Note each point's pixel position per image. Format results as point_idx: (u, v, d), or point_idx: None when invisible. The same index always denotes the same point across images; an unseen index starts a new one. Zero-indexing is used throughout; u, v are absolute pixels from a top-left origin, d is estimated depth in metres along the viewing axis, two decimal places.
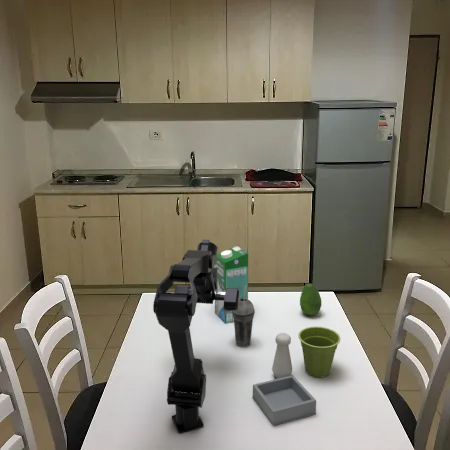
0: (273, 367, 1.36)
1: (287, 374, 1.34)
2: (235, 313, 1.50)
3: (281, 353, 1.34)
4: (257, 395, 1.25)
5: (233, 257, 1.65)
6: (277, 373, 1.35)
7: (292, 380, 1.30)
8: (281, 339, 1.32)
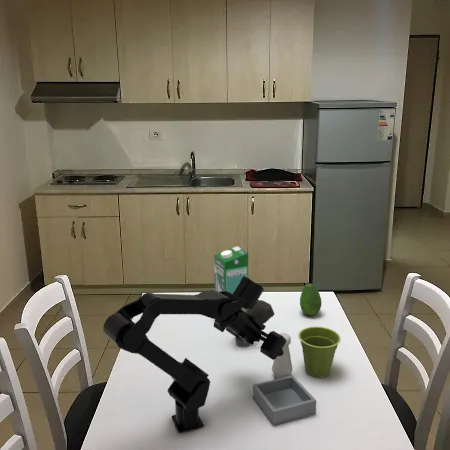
0: (273, 367, 1.36)
1: (287, 374, 1.34)
2: None
3: None
4: (257, 395, 1.25)
5: (233, 257, 1.65)
6: (277, 373, 1.35)
7: (292, 380, 1.30)
8: None
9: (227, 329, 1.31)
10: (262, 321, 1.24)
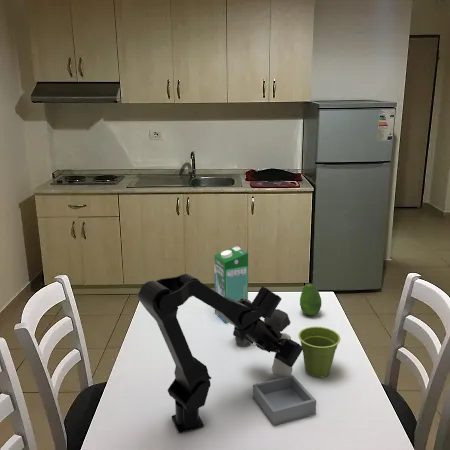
0: (273, 367, 1.36)
1: (287, 374, 1.34)
2: None
3: None
4: (257, 395, 1.25)
5: (233, 257, 1.65)
6: (277, 373, 1.35)
7: (292, 380, 1.30)
8: None
9: (244, 337, 1.36)
10: (279, 329, 1.28)
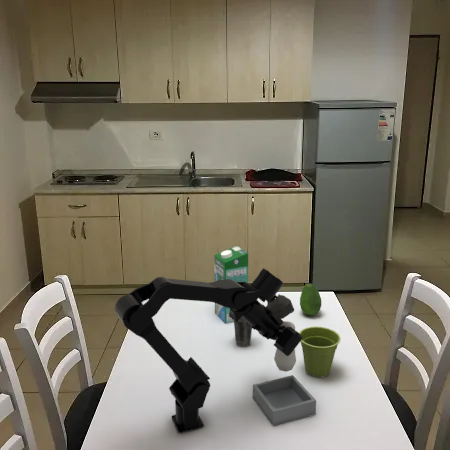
0: (275, 356, 1.29)
1: (289, 365, 1.27)
2: None
3: None
4: (257, 395, 1.25)
5: (233, 257, 1.65)
6: (278, 363, 1.27)
7: (292, 380, 1.30)
8: None
9: (247, 322, 1.30)
10: (280, 316, 1.21)
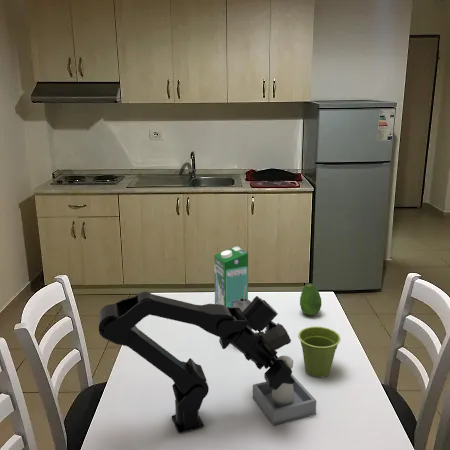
0: (272, 391, 1.24)
1: (284, 402, 1.21)
2: None
3: None
4: (257, 395, 1.25)
5: (233, 257, 1.65)
6: (274, 398, 1.22)
7: None
8: None
9: None
10: (273, 347, 1.16)
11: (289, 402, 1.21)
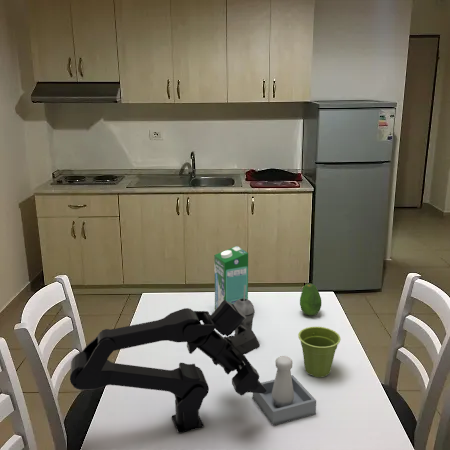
0: (272, 391, 1.24)
1: (284, 402, 1.21)
2: None
3: (279, 377, 1.21)
4: (257, 395, 1.25)
5: (233, 257, 1.65)
6: (274, 398, 1.22)
7: (292, 380, 1.30)
8: (279, 362, 1.20)
9: None
10: (241, 351, 1.14)
11: (289, 402, 1.21)
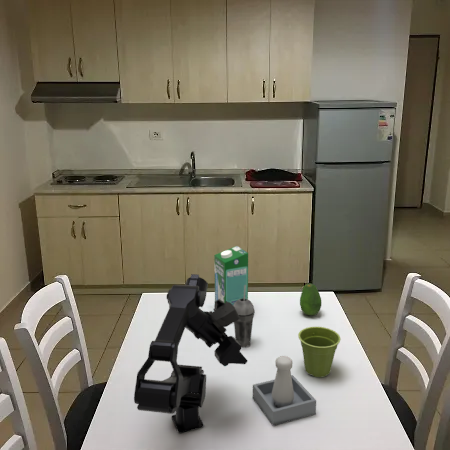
0: (272, 391, 1.24)
1: (284, 402, 1.21)
2: None
3: (279, 377, 1.21)
4: (257, 395, 1.25)
5: (233, 257, 1.65)
6: (274, 398, 1.22)
7: (292, 380, 1.30)
8: (279, 362, 1.20)
9: None
10: (222, 324, 1.17)
11: (289, 402, 1.21)
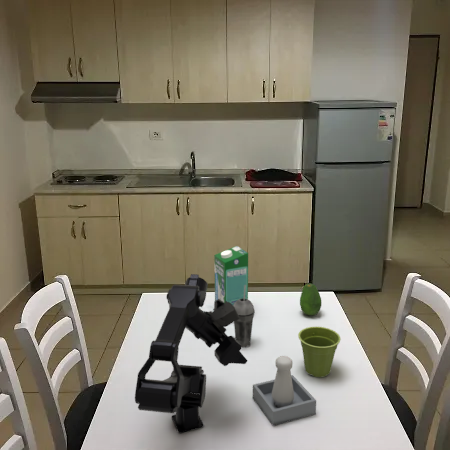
0: (272, 391, 1.24)
1: (284, 402, 1.21)
2: None
3: (279, 377, 1.21)
4: (257, 395, 1.25)
5: (233, 257, 1.65)
6: (274, 398, 1.22)
7: (292, 380, 1.30)
8: (279, 362, 1.20)
9: None
10: (222, 324, 1.17)
11: (289, 402, 1.21)
